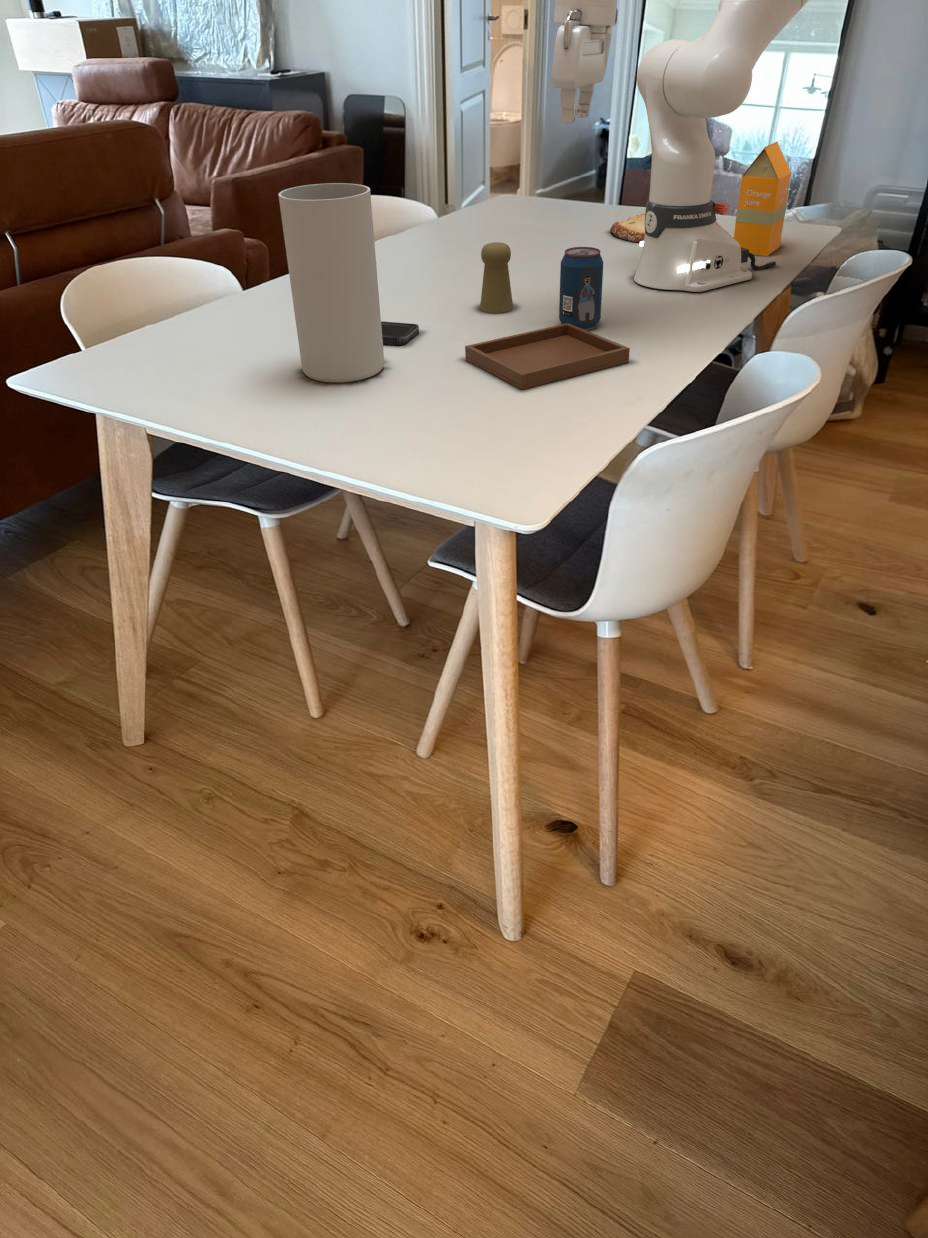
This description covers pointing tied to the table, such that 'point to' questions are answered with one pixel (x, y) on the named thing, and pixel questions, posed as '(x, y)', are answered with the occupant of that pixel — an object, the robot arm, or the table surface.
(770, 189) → the orange juice
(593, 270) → the soda can
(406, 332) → the phone
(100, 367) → the table surface
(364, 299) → the cylinder vase
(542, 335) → the tray
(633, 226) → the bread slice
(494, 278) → the olive pawn
